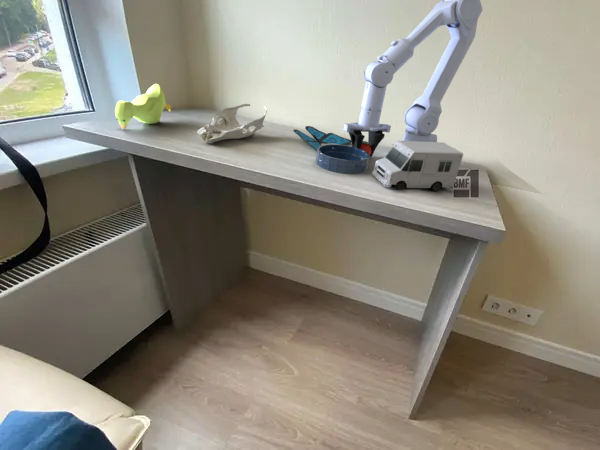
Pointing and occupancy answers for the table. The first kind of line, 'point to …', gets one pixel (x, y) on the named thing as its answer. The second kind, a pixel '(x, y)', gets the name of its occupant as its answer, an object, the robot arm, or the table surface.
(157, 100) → the toy
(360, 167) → the bowl
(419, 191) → the table surface
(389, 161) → the toy truck
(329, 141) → the decorative butterfly
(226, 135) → the anatomical model
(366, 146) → the tomato
